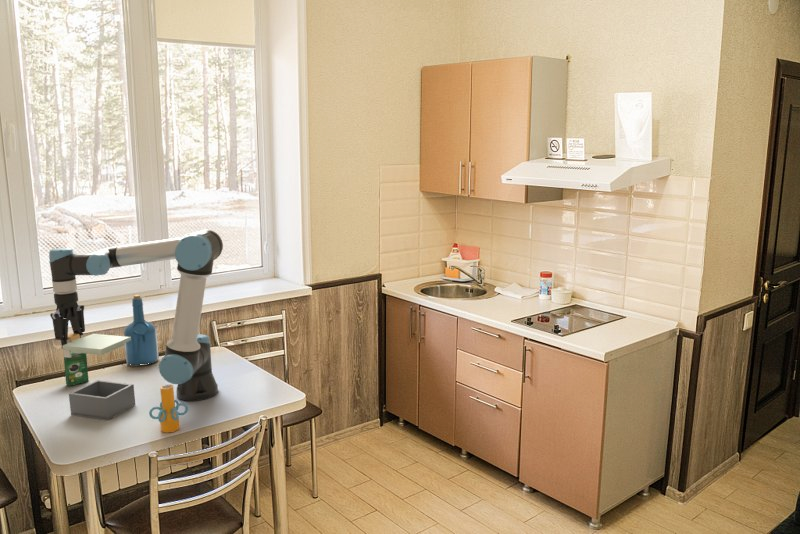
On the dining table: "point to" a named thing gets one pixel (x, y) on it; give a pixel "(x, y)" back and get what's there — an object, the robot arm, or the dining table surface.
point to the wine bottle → (140, 337)
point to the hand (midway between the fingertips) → (72, 354)
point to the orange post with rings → (168, 410)
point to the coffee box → (76, 369)
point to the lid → (95, 343)
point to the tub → (102, 399)
